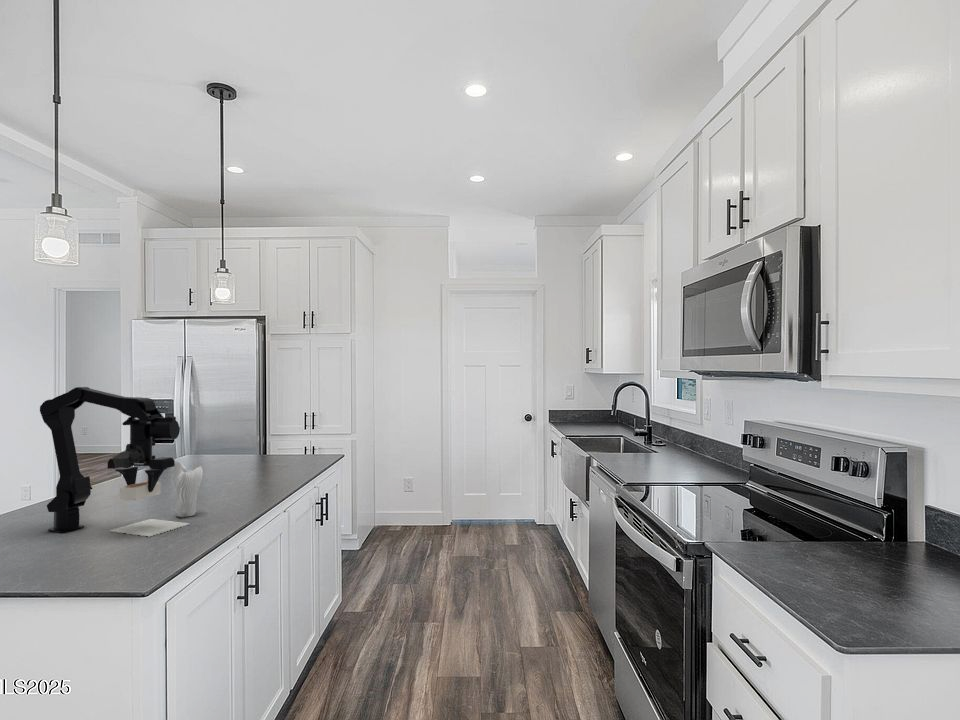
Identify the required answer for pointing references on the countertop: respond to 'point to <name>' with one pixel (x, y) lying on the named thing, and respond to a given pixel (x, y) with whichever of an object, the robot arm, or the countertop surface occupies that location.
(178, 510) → the shell sculpture
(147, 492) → the card box
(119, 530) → the mat
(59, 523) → the robot arm
